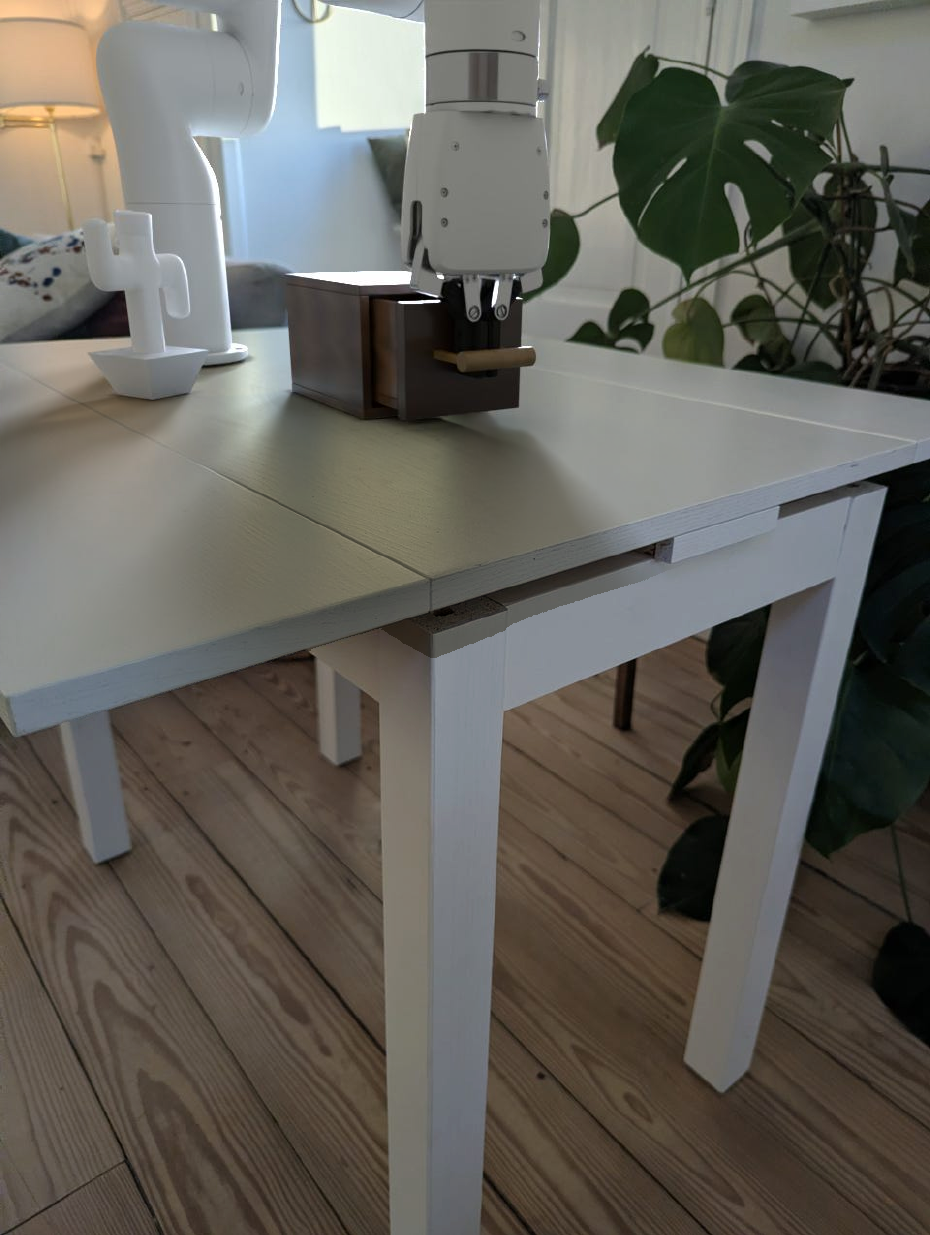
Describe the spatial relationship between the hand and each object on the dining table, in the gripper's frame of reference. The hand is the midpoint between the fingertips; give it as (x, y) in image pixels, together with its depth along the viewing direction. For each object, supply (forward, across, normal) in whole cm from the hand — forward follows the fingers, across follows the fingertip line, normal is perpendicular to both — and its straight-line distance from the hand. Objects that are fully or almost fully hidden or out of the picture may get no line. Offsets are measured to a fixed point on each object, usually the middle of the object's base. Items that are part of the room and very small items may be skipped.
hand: (476, 374), depth 68 cm
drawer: (+3, 0, -6) cm, 7 cm away
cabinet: (+4, 0, -15) cm, 15 cm away
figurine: (+4, +17, -27) cm, 32 cm away
